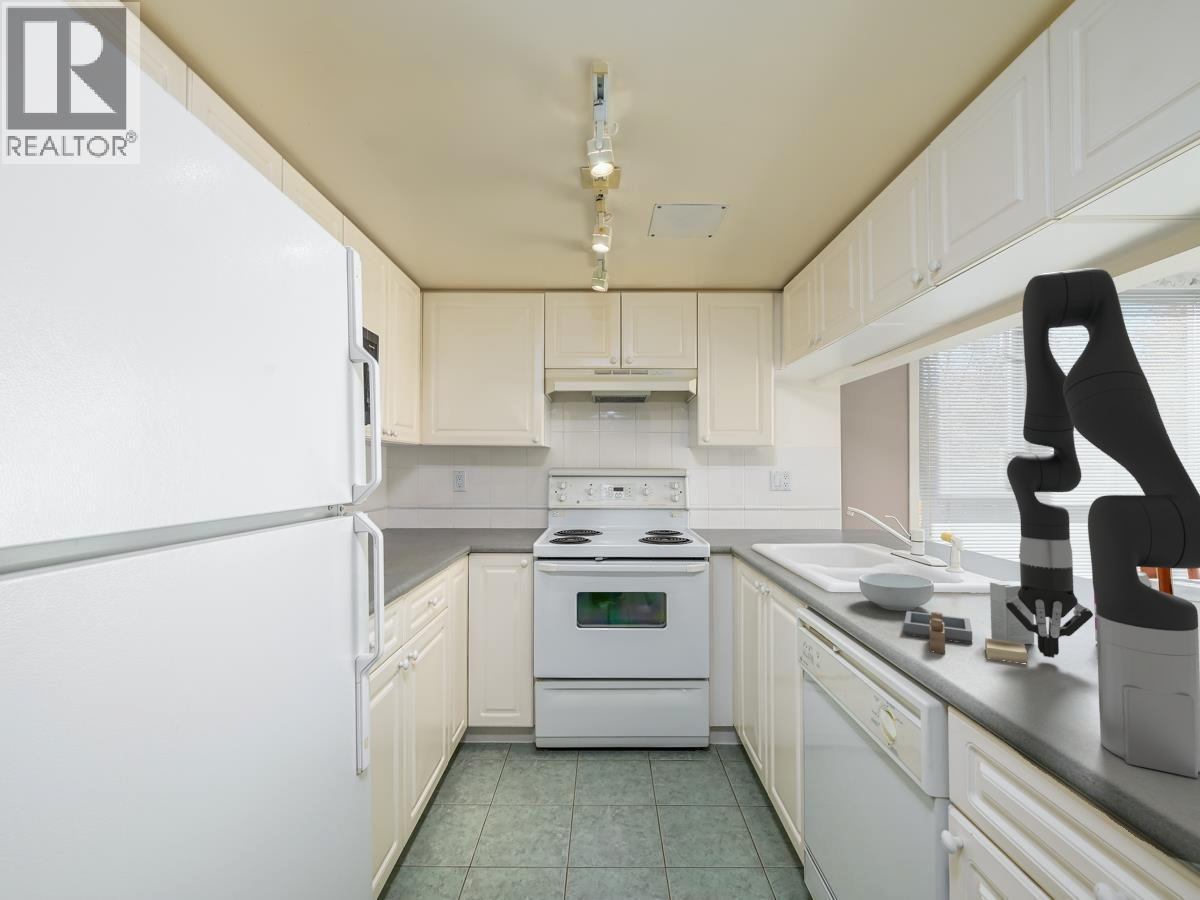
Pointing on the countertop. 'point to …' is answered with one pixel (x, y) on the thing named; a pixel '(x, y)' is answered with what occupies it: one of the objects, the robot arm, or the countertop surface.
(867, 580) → the cereal bowl
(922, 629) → the tray
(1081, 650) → the countertop surface
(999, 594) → the skincare box
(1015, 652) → the tan block
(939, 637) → the stop bar
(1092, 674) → the countertop surface
